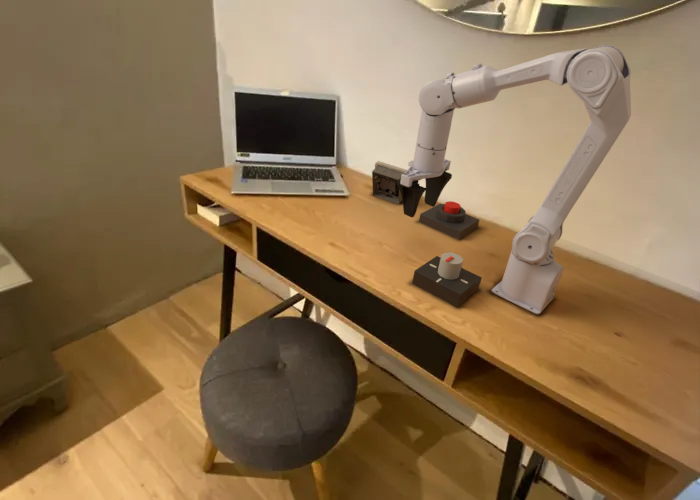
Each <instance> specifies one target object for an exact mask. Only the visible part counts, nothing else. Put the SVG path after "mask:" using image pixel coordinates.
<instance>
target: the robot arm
mask: <svg viewBox="0 0 700 500" xmlns="http://www.w3.org/2000/svg"><path fill="white" fill-rule="evenodd" d="M631 73H632V72H631V67H630V65H629V63H628V61H627V59H626V57H625V55H624V53H623V52H622V51H621V49H619V48H618V47H616V46H614V45H612V44H601V45H597V46H595V47H593V48H590V49H589V48H588V47H584V48H577V49H570V50H565V51H558V52H555V53H552V54H548V55H545V56H541V57H538V58H536V59H532V60H529V61H525V62H523V63H519V64H516V65H513V66H509V67H506V68H504V69H500V70H498V69H496V68H494V67H493V66H491V65H488V64H487V65H483V63H478V64H474V65H471V69H469V70H466V71H463V72H459V73H456V74H455V72H450V73H447V74H446V76H445V77H443V78H440V79H439V78H438V79H432V80H431V81H429V82H427V83H425V84H424V85H423V86H422V87H421V88H420V91H419V94H418V103H419V106H420V108H421V115H420V120H419V124H418V125H419V126H418V131H417V138H416V144H415V149H414V150H415V151H414V156H413V160H410V161H408V164H407V166H408V169H406V170H407V171H406V172H405V173H404V174H402V175H401V178H400V179H398V181H397V186H398V188H399V190H400V192H401V196H402V201H401V202H402V208H403V215H404V216H407V217H409V218H414V217H415V215H416V213H417V211H418V206H419V204H420V201H421V198H422V197H423V195H424V204H425V205H428V206H430V207H431V208H433V207H434V206H436V205H437V202H438V200H439V198H440V195H441V194H442V192H443V190H444V188H445V187H446V186H447V184H448V183H449V182H450V181H451V180H452V178H453V174H452V173H451V172H448V171H449V170H450V168H451V162H452V161H451V160H450V159H447V158H445V157H446V152H447V148H448V143H449V138H450V133H451V127H452V123H453V117H454V112H455V109H463V108H468V107H472V106H476V105H480V104H484V103H488V102H492V101H495V99H496V98H497V97H498V95H499V94H500V92H501V91H502V90H506V89H511V88H515V87H520V86H525V85H528V84H529V85H530V84H533V83H538V82H542V81H549V82H552V83H555V84H556V85H558V86H564V85H566V84H567V85H568V86H569V88H570V89H571V91H572V92H573V93H574V94H575V96H576V97H578V98H579V99H580V100H581V102H582V103H583V104H584V106H585V110H586V112H587V114H588V116H589V119H590V122H589V124H588V126H587V127H586V129H585V131H584V132H583V134H582V136H581V138H580V139H579V141H578V143H577V144H576V146H575V148H574V149H573V151H572V153H571V154H570V156H569V157H568V160H566V162H565V165H564V166H563V168H562V170H561V171H560V173H559V175H558V176H557V178H556V180H555V181H554V183H553V184H552V186H551V187H550V190H549V191H548V193H547V195H546V196H545V198H544V200H543V201H542V203H541V205H540V206H539V208H538V209H537V210H536V212H535V214H534V215H533V216H531V217H530V218H529V219H528V221H527V222H526V224H525V225H524V226H523V228H522V229H521V230H520V231H518V232H517V233H516V234H515V235H514V237H513V239H512V242H511V243H512V244H511V245H512V246H511V251H510V254H509V257H508V260H507V263H506V267H505V270H504V274H503V277H502V279H501V281H500V282H498V283H497V284H496V285H495V286H494V287H492V288H491V290H490V292H491V293H492V294H494V295H496V296H498V297H499V298H502V299H503V300H506V301H508V302H510V303H512V304H514V305H517V306H519V307H521V308H523V309H524V310H526V311H529V312H531V313H533V314H535V315H540V314H541V313H542V312H543V311H544V309H545V308H547V307H548V305H549V304H550V303H551V302H552V301H553V300H554V298H555V294H556V291H557V289H558V287H559V283H560V281H561V279H562V276H563V274H564V270H565V268H564V266H563V265H561V264H560V263H558V261H556V260H555V259H554V257H555V255H554V252H553V251H554V250H553V248H554V246H555V245H556V244H557V242H558V241H559V240H560V239H561V237H562V236H563V227H564V223H565V221H566V219H567V218H568V216H569V214H570V213H571V211H572V210H573V208H574V206H575V205H576V203H577V202H578V200H579V199H580V198H581V195H582V194H583V193H584V190H585V189H586V188H587V186H588V185H589V183H590V182H591V180H592V179H593V177H594V176H595V175H596V173H597V171H598V169H599V168H600V166H601V164H602V163H603V162H604V160H605V158H606V157H607V155H608V153H609V152H610V150H611V149H612V147H613V146H614V145H615V143H616V141H617V140H618V138H619V136H620V135H621V133H622V132H623V130H624V129H625V127H626V125H627V124H628V122H629V121H630V119H631V116H632V102H631ZM423 179H424V180H425V187H424V186H422V185H420V183H419V181H420V180H423Z"/></svg>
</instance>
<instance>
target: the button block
mask: <svg viewBox="0 0 700 500" xmlns="http://www.w3.org/2000/svg"><path fill="white" fill-rule="evenodd" d="M444 206H445V203H439V204H435V206H434V207H431V208H429V209H427V210H425V211H423V212H421V213H420V214H419V219H418V220H419V221H418V223H420V224H423V225H425V226H427V227H429V228H432V229H434V230H436V231H437V232H441V233H443V234H445V235H447V236H450V237H452V238H454V239H456V240H461V239H462V238H464V237H466V236H467V235H468V234H470V233H472V232H473V231H474V230H476V229H478V227H479V224H480V218H477V217H474V216H472V215H469V214H467V213H466V210H465V209H464V208H463V207H462V206H461V207H460V211H459V214H450V213H447V212H445V211H444Z"/></svg>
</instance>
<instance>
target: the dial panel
mask: <svg viewBox="0 0 700 500" xmlns="http://www.w3.org/2000/svg"><path fill="white" fill-rule="evenodd" d="M440 259H441V256H439V255H436V256H434V257H433V258H431V259H430V260H428V261H427V262H425V263H424V264H422V265H421V266H419V267H418V268H416V269H414V272H413V275H412V276H413V277H412V282H411V284H412V285H414V286H416V287H418V288H420V289H422V290H423V291H426V292H427V293H429V294H431V295H433V296H435V297H437V298H439V299H441V300H443V301H444V302H446V303H448V304H449V305H452V306H454V307H456V308H459V307H461V305H463V303H465V302H466V301H467V300H468V299H470V297H472V296H473V295H474V294H475V293H477V292H478V291H479V288H480V286H481V282H482V276H480V275H478V274H476V273H474V272H472V271H469V270H467V269H466V268H464V267H461V270H460V274H459V277H458V278H457V279H454V280H449V279H445V278H443V277H441V276H440V275H439V274H438V268H439V264H440Z"/></svg>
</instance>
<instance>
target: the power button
mask: <svg viewBox="0 0 700 500" xmlns="http://www.w3.org/2000/svg"><path fill="white" fill-rule="evenodd" d="M444 204H445V206H444V211H445V212H447V213H450V214H459V211H460V207H462V206H461V204H460V203H458V202H455V201H451V200H449V201H446V202H445V203H444Z"/></svg>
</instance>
